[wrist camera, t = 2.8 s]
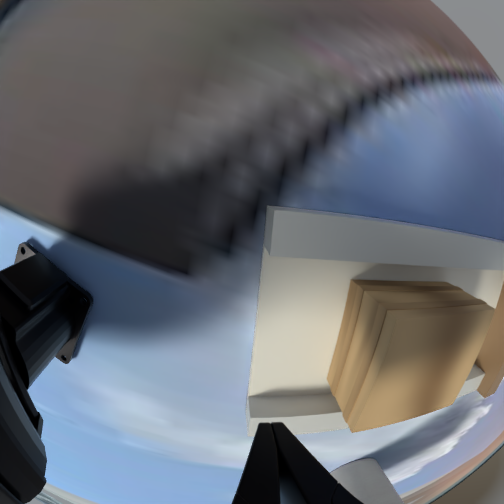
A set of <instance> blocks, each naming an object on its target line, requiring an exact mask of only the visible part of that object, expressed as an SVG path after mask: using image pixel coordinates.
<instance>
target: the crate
mask: <svg viewBox="0 0 504 504" xmlns="http://www.w3.org/2000/svg"><path fill="white" fill-rule="evenodd" d="M494 312H495V308H493V307H491V306H489V305H488V304H487V303H486V302H485V301H483V300H481V299H477V298H475V297H474V296H472V295H470V294H468V293H467V292H465V291H463V289H461V288H459V287H458V286H454V285H452V284H450V283H448V282H430V281H386V280H355V279H351V281H350V286H349V291H348V295H347V300H346V305H345V309H344V314H343V318H342V322H341V327H340V331H339V335H338V339H337V343H336V346H335V350H334V354H333V358H332V361H331V365H330V368H329V372H328V375H327V381H328V383H329V386H330V390H331V392H332V394H333V396H335V398H336V400H337V402H338V404H339V407H340V409H341V411H342V413H343V414H342V416H343V418H344V420H345V422H346V423H347V424H348V426H349V428H350V430H351V432H352V433H354V432H359V431H364V430H369V429H373V428H378V427H382V426H386V425H390V424H394V423H398V422H401V421H405V420H408V419H412V418H415V417H418V416H421V415H424V414H427V413H430V412H433V411H436V410H439V409H442V408H444V407H447V406H450V405H452V404H453V403H454V401H455V399H456V397H457V396H458V394H459V392H460V390H461V388H462V387H463V385H464V383H465V381H466V379H467V377H468V375H469V373H470V371H471V369H472V367H473V365H474V363H475V360H476V358H477V356H478V354H479V351H480V349H481V347H482V344H483V342H484V339H485V337H486V334H487V332H488V329H489V327H490V324H491V321H492V318H493V315H494Z"/></svg>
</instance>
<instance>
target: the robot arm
mask: <svg viewBox="0 0 504 504" xmlns="http://www.w3.org/2000/svg"><path fill="white" fill-rule="evenodd" d="M24 248H25V251H26V252H25V251H24ZM83 298H85V299H86V301H87V303H86V302H84V301H83ZM92 304H93V298H92V296H91V295H90V294H89V293H88V292H87V291H86V290H84V289H83V288H82V287H80V286H79V285H78V284H76V283H75V282H74V281H72V280H71V279H70V278H69V277H67V275H66V274H65V273H64V272H62V271H61V270H60V269H59V268H58V267H56V266H55V265H54V264H53V263H52V262H50V261H49V260H48V259H47V258H46V257H45V256H43V255H42V254H41V253H39V252H38V251H37V250H36V249H34V248H33V247H32V246H31V245H30V244H29V243H28V242H23V243H21V244H20V245H19V247H18V251H17V255H16V259H15V263H14V264H13V265H11V266H9V267H7V268H5V269H3V270H1V271H0V504H25V503H27V502H30V501H31V500H32V499H33V498H34V497H35V496H37V495H38V494H39V493H40V492H41V491H42V489H43V487H44V486H45V484H46V478H45V477H44V476H45V470H46V463H47V458H46V452H45V446H44V444H43V442H42V440H41V434H42V427H43V419H42V417H41V415H40V413H39V412H37V410H36V408H35V406H34V404H33V402H32V400H31V398H30V396H29V393H28V391H27V390H28V388H29V387H30V386H31V385H32V383H33V382H34V381H35V380H36V378H37V377H38V376H39V375H40V374H41V372H42V371H43V370H44V369H45V368H46V366H47V365H48V364H49V363H50V362H51V360H52V359H53V358H54V357H56V358H58V359H59V360H60V361H62V362H63V363H65V364H68V363H69V362H70V361H71V359H72V357H73V354H74V351H75V348H76V345H77V342H78V340H79V337H80V334H81V332H82V329H83V326H84V324H85V321H86V319H87V316H88V314H89V311H90V309H91V306H92ZM232 504H364V503H362V502H361V501H360V500H358V499H357V498H356V497H354V496H353V495H352V494H351V493H350V492H349V491H348V490H346V489H345V488H344V487H343V486H342V485H341V484H340V483H338V481H337V480H336V479H335V478H334V477H333V476H332V475H331V474H330V473H329V472H328V471H327V470H326V469H325V468H324V467H323V466H322V465H321V464H320V463H319V462H318V461H317V460H316V458H315V457H314V456H313V455H312V454H311V453H310V452H309V451H308V450H307V449H306V448H305V447H304V446H303V445H302V443H301V442H300V441H299V440H298V439H297V438H296V437H295V436H294V435H293V433H292V432H291V431H290V430H289V429H288V428H287V427H286V425H285V424H284V423H283V422H271V424H270V423H269V422H260V423H259V424H258V427H257V430H256V433H255V437H254V440H253V443H252V446H251V449H250V452H249V455H248V458H247V462H246V465H245V468H244V470H243V473H242V476H241V479H240V482H239V485H238V488H237V491H236V494H235V496H234V499H233V501H232Z"/></svg>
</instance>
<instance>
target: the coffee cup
mask: <svg viewBox="0 0 504 504" xmlns="http://www.w3.org/2000/svg"><path fill="white" fill-rule="evenodd" d="M330 474H331V475H332V476H333V477H334V478H335V479H336V480H337V481H338V483H340V484H341V485H342V486H343V487H344V488H345V489H346V490H348V491H349V492H350V493H351V494H352V495H353V496H354V497H356V498H357V499H358V500H360V501H361V502H362V503H364V504H404V502H403V501H402V499H401V498H400V496H399V495H398V493H397V492H396V490H395V489H394V487H393V486H392V484H391V482H390V481H389V479H388V478H387V476H386V475H385V473H384V472H383V470H382V468H381V467H380V465H379V464H378V462H377V461H376V460H375V459H372V458H366V459H360V460H356V461H353V462H350V463H348V464H345V465H343V466H341V467H339V468H337V469H335V470H334V471H332V472H331V473H330Z"/></svg>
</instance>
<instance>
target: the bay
mask: <svg viewBox="0 0 504 504" xmlns="http://www.w3.org/2000/svg"><path fill="white" fill-rule="evenodd" d="M351 279H355V280H386V281H430V282H448V283H450V284H452V285H454V286H458V287H459V288H461V289H463V291H465V292H467V293H468V294H470V295H472V296H474V297H475V298H477V299H481V300H483V301H485V302H486V303H487V304H488V305H489V306H491V307H493V308H495V312H494V315H493V318H492V321H491V324H490V327H489V329H488V332H487V334H486V337H485V339H484V342H483V344H482V347H481V349H480V351H479V354H478V356H477V358H476V360H475V363H474V365H473V367H472V369H471V371H470V373H469V375H468V377H467V379H466V381H465V383H464V385H463V387H462V388H461V390H460V392H459V394H458V396H457V397H456V398H459V397H461V396H464V395H466V394H469V393H471V392H473V391H476V390H477V391H478V392H479V393H480V394H481V395H482V396H483V397H484V398H486V397H488V396H490V395H492V394H494V393H495V391H496V390H497V388H498V386H499V384H500V382H501V380H502V379H503V377H504V241H502V240H497V239H493V238H488V237H483V236H478V235H473V234H468V233H463V232H458V231H453V230H447V229H442V228H436V227H430V226H424V225H418V224H412V223H406V222H400V221H393V220H386V219H380V218H372V217H365V216H358V215H350V214H342V213H334V212H325V211H317V210H308V209H298V208H288V207H278V206H267V211H266V221H265V232H264V242H263V252H262V262H261V272H260V282H259V292H258V302H257V312H256V321H255V331H254V340H253V349H252V358H251V367H250V376H249V385H248V394H247V403H246V422H247V433H248V436H255V433H256V430H257V427H258V424H259V423H260V422H269V423H270V424H271V422H283V423H284V424H285V425H286V427H287V428H288V429H289V430H290V431H291V432H292V433H293V435H298V434H309V433H318V432H326V431H333V430H340V429H346V428H349V426H348V424H347V423H346V422H345V420H344V418H343V416H342V414H343V413H342V411H341V409H340V407H339V404H338V402H337V400H336V398H335V396H333V394H332V392H331V390H330V386H329V383H328V381H327V375H328V372H329V368H330V365H331V361H332V358H333V354H334V350H335V346H336V343H337V339H338V335H339V331H340V327H341V322H342V318H343V314H344V309H345V305H346V300H347V295H348V291H349V286H350V281H351Z"/></svg>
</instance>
